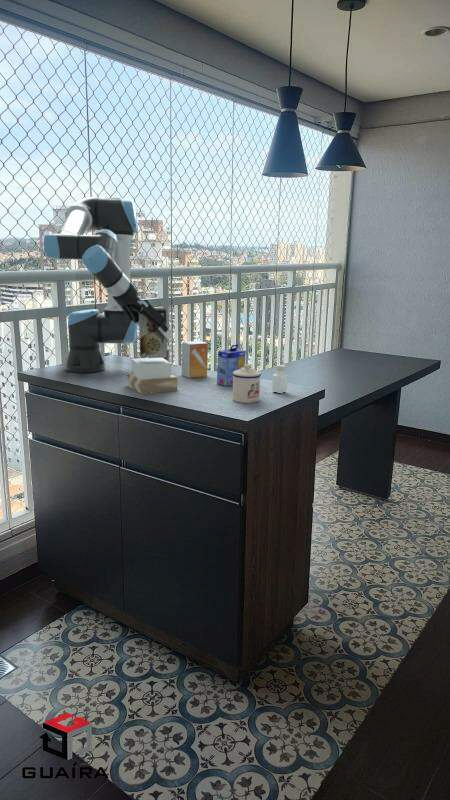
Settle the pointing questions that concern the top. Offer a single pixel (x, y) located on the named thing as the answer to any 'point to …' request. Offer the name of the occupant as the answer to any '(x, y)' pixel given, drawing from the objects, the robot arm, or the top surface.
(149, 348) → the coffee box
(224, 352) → the blue upright box
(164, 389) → the tower base
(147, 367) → the tower top
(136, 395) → the top surface
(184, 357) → the small box
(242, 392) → the teacup with lid
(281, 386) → the pepper shaker
